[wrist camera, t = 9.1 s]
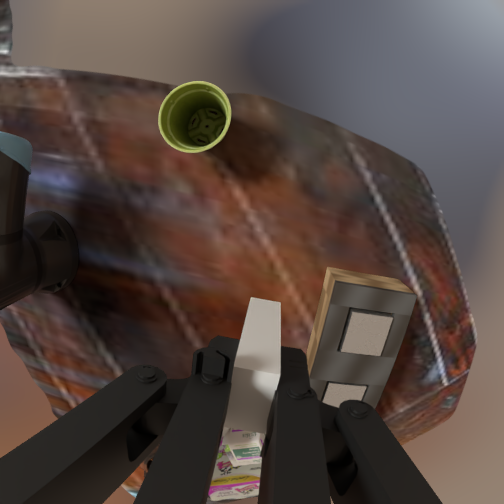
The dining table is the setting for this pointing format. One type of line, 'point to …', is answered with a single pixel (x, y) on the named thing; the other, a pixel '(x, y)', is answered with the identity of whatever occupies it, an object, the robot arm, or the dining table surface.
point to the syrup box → (243, 447)
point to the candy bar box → (233, 479)
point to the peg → (365, 331)
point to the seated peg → (342, 392)
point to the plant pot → (194, 116)
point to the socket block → (332, 324)
